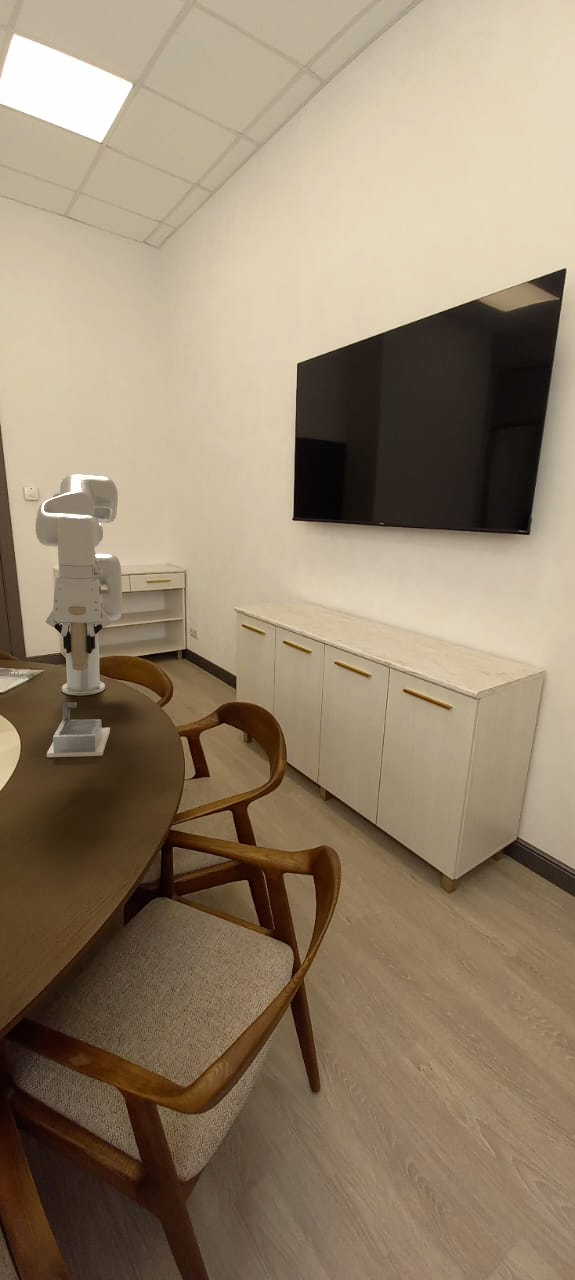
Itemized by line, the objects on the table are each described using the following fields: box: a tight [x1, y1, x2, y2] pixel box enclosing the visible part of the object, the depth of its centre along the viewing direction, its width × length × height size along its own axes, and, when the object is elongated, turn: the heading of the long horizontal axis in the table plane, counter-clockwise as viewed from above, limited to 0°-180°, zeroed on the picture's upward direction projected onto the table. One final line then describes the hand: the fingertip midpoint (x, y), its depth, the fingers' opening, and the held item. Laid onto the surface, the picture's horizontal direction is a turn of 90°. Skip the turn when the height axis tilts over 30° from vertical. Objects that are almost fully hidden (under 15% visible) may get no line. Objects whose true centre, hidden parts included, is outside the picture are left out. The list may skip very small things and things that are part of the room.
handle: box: [69, 607, 89, 671], centre depth 118 cm, size 5×6×15 cm
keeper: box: [46, 701, 111, 758], centre depth 124 cm, size 14×12×9 cm
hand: (79, 651), depth 119 cm, fingers closed on handle, 3 cm apart
